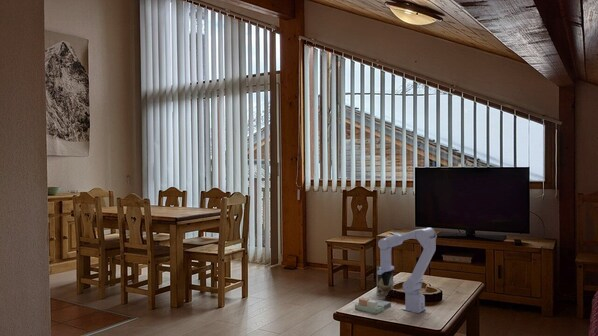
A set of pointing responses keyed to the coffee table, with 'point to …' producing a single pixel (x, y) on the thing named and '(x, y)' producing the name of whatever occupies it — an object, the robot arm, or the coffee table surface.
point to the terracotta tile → (363, 301)
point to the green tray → (369, 309)
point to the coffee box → (381, 288)
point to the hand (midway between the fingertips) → (386, 285)
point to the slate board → (382, 303)
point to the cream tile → (372, 304)
